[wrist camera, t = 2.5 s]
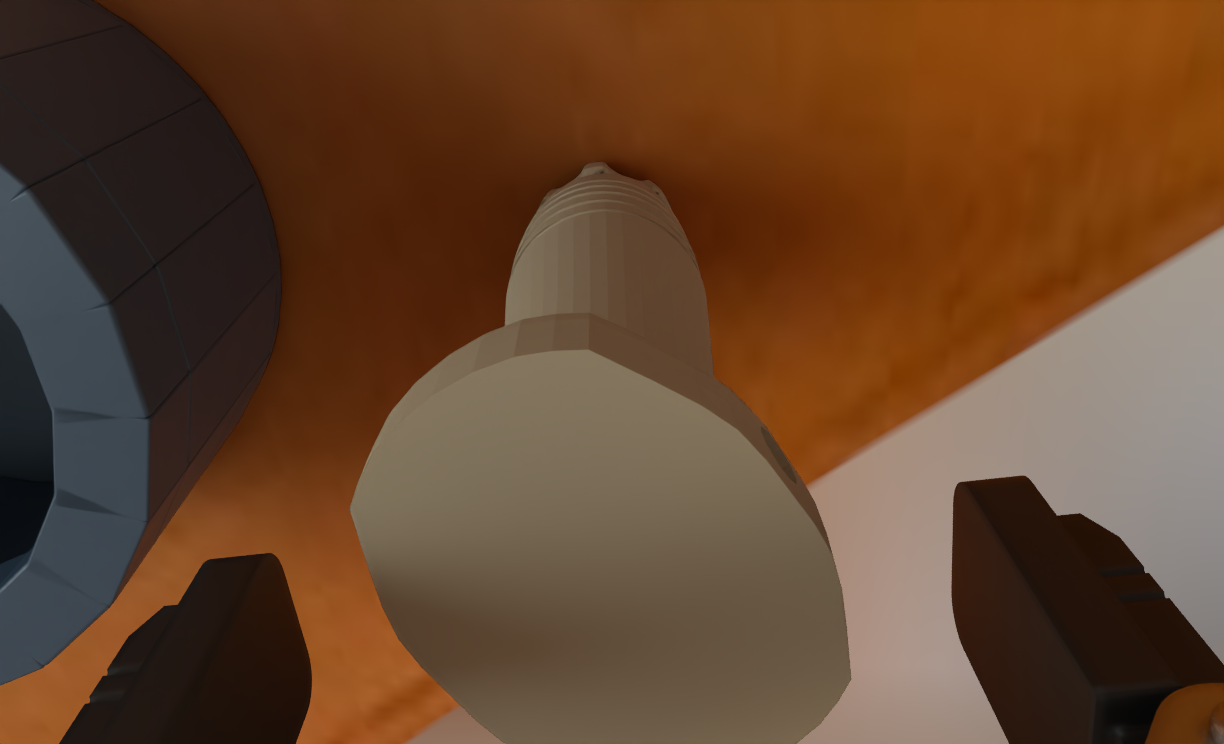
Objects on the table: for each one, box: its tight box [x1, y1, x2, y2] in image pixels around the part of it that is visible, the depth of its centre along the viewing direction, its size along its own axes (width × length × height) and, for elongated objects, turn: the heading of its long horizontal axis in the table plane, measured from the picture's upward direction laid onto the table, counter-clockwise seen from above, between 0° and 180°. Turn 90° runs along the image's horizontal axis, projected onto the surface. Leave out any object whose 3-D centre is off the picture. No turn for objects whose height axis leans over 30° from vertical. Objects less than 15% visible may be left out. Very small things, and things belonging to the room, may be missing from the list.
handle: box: [350, 162, 851, 744], centre depth 19 cm, size 5×6×15 cm
